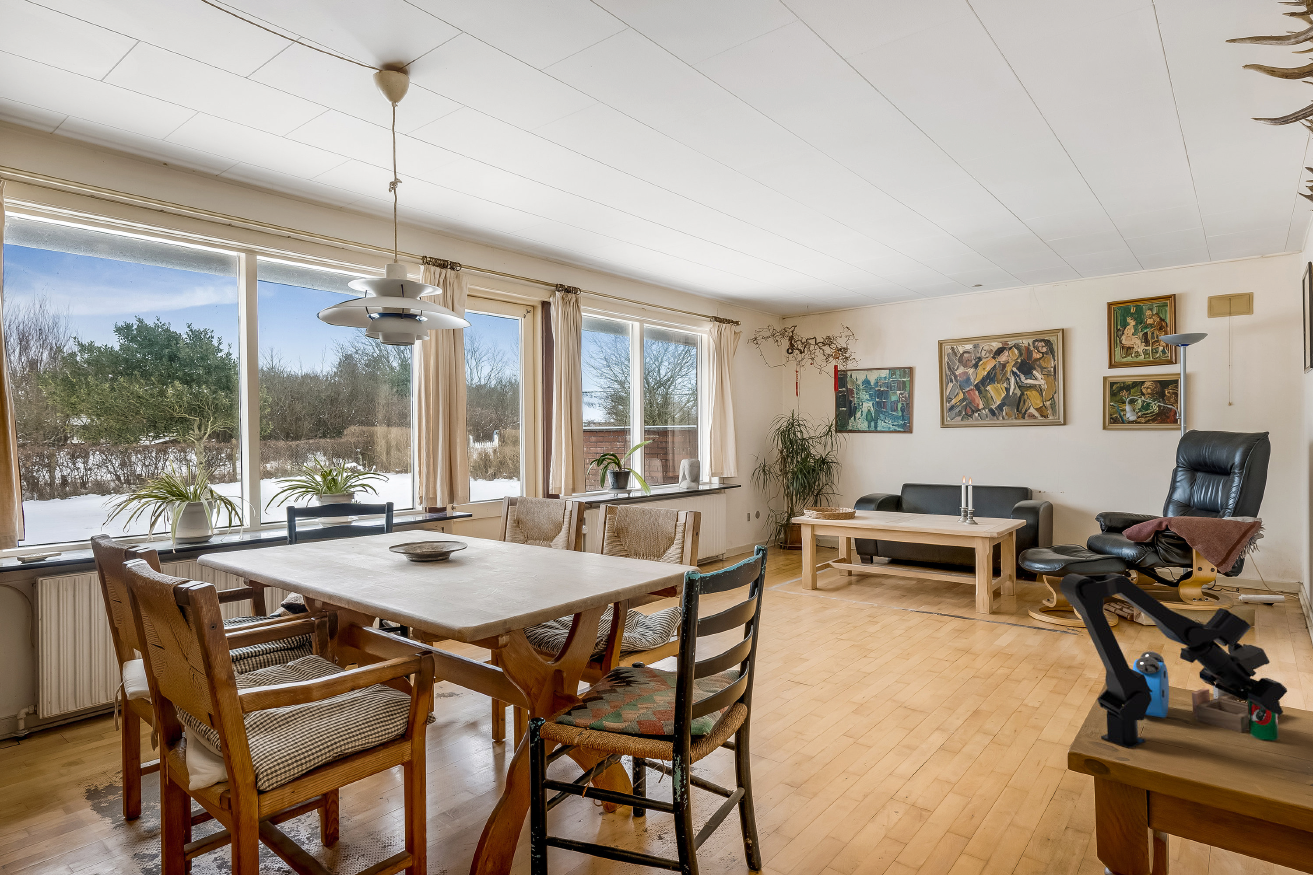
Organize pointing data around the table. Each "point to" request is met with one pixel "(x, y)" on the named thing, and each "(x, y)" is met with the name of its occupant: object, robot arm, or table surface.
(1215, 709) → the socket block
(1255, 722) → the soda can
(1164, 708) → the alarm clock
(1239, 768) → the table surface
